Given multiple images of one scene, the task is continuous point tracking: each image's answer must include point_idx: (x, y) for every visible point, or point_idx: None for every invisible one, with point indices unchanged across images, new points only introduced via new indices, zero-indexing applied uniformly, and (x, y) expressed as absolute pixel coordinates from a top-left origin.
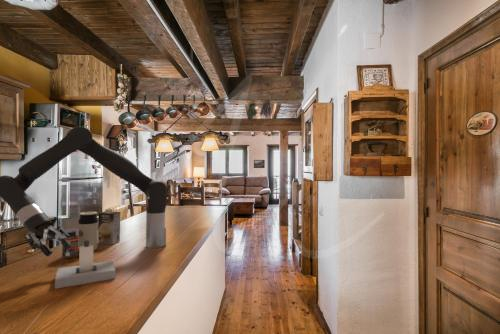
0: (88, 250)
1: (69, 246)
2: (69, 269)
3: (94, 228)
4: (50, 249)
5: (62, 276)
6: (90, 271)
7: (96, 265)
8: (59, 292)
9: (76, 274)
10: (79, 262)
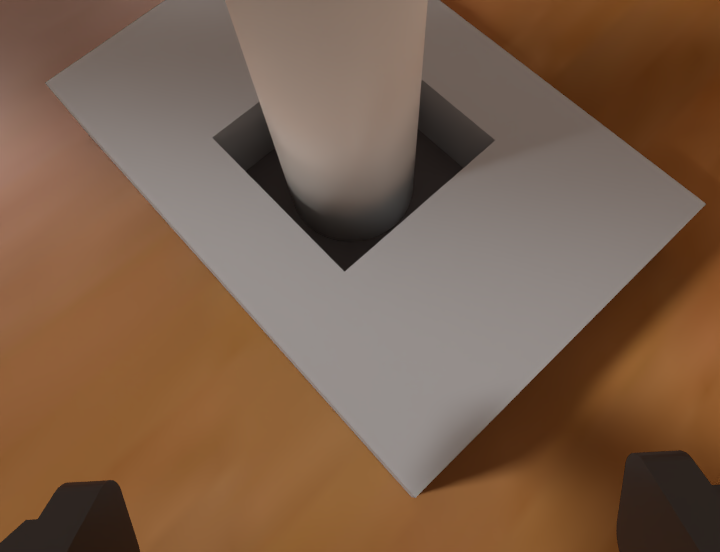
0: None
1: (108, 495)
2: (410, 307)
3: None
4: (676, 512)
5: (608, 205)
6: None
7: (221, 126)
8: (695, 149)
9: (513, 116)
10: (406, 124)
